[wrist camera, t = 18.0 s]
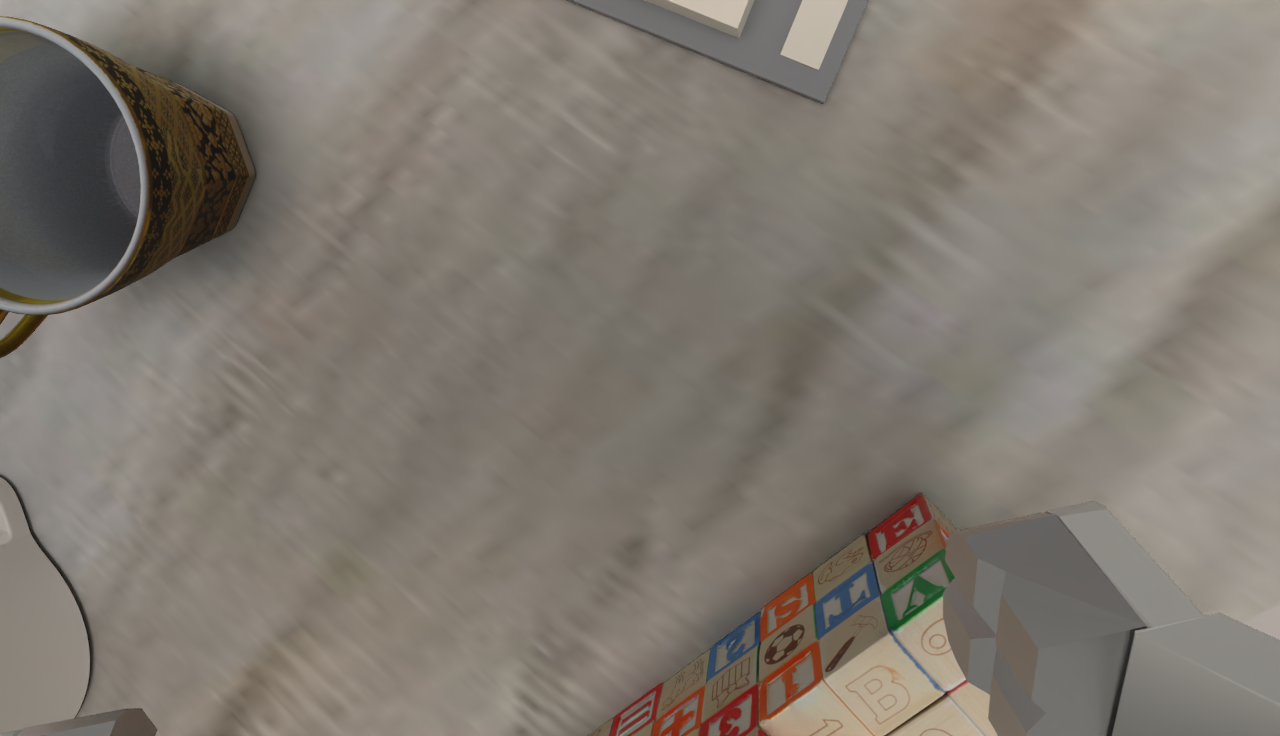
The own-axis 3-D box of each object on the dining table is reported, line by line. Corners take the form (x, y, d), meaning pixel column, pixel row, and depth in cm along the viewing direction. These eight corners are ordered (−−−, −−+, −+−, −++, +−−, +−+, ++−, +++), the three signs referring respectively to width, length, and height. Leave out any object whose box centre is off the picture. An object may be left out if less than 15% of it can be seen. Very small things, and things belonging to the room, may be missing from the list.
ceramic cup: (124, 5, 40) (-77, -41, 31) (327, 118, 40) (190, 107, 31) (32, 269, 44) (-176, 302, 34) (219, 373, 44) (65, 436, 34)
